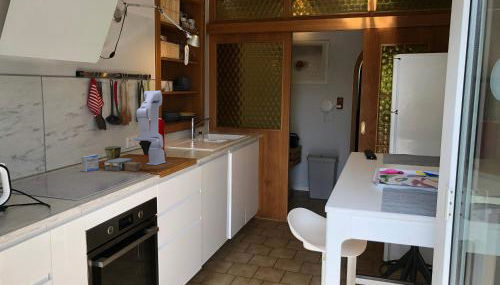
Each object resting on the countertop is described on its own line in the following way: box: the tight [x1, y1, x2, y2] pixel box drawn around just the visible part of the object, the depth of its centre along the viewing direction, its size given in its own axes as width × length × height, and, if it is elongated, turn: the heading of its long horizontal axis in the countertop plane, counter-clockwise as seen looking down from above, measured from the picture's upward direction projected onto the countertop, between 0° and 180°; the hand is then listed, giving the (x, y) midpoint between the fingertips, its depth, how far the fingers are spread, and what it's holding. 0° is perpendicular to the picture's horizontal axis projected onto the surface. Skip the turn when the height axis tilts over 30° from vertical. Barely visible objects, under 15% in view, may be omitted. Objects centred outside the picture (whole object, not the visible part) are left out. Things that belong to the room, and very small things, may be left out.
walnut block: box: [124, 161, 143, 172], centre depth 241 cm, size 5×8×4 cm, turn 64°
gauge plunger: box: [110, 160, 134, 170], centre depth 244 cm, size 12×9×4 cm
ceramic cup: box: [103, 145, 122, 161], centre depth 263 cm, size 13×10×10 cm
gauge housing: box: [104, 157, 134, 172], centre depth 246 cm, size 12×10×5 cm
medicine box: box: [80, 154, 100, 173], centre depth 242 cm, size 8×4×9 cm, turn 143°
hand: (146, 154), depth 237 cm, fingers closed
